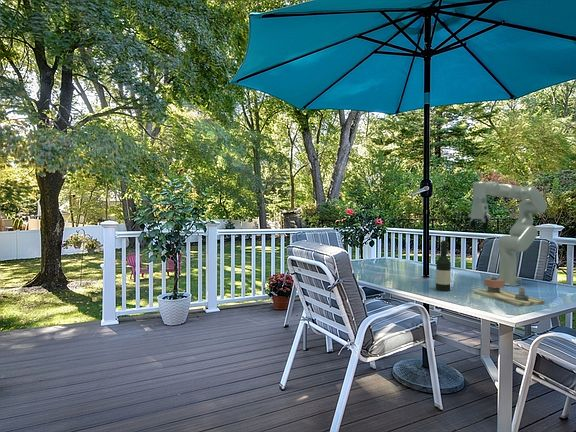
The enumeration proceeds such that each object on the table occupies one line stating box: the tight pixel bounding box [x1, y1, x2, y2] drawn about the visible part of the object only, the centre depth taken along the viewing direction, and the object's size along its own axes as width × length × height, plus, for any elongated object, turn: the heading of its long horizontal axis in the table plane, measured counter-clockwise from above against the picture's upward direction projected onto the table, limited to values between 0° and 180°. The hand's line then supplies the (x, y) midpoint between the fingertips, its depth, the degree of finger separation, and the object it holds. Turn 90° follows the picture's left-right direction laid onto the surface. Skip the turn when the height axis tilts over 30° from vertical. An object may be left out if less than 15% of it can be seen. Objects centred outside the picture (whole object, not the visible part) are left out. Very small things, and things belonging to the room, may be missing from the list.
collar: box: [483, 277, 505, 289], centre depth 212 cm, size 7×7×4 cm
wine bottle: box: [435, 240, 452, 293], centre depth 222 cm, size 8×8×30 cm
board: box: [472, 277, 546, 307], centre depth 204 cm, size 18×30×10 cm, turn 17°
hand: (479, 228), depth 232 cm, fingers open, 9 cm apart
